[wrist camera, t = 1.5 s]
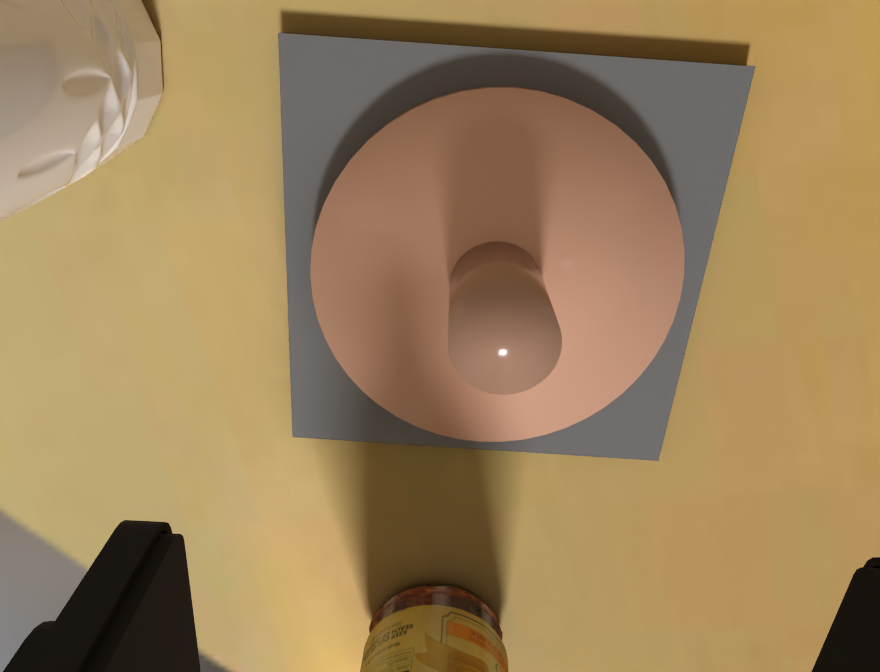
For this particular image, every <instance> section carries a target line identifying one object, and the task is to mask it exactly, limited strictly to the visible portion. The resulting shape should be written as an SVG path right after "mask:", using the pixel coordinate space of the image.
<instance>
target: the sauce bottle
mask: <svg viewBox="0 0 880 672" xmlns="http://www.w3.org/2000/svg"><path fill="white" fill-rule="evenodd" d="M369 631H370V635H369V637H368V639H367V642H366V644H365V648H364V653H363V659H362V665H361V670H360V672H508V660H507V653H506V650H505V647H504V644H503V642H502V631H501V628H500V626H499V622H498V619H497V616H496V615H495V614H494V613H493V612H492V611H491V609H490V608H489V607H488V606H487V605H486V604H485V603H484V602H482V601H481V600H479V599H478V598H477V597H474V596H473V595H471V594H470V593H469V592H468V591H466V590H464V589H462V588H460V587H456V586H450V585H442V586H434V585H431V586H417V587H415V588H411V589H408V590H405V591H402V592H400V593H399V594H397V595H395V596H393V597H392V598H391V599H390V600H389V601H388V602H385V603H384V605H383V607H381V608H380V609H379V610H378V611H377V612H376V614H375V616H374V618H373V620H372V622H371V624H370V628H369Z"/></svg>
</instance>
